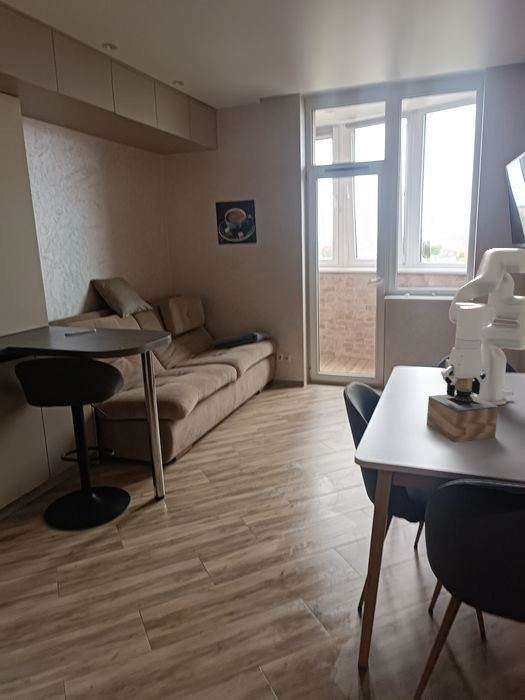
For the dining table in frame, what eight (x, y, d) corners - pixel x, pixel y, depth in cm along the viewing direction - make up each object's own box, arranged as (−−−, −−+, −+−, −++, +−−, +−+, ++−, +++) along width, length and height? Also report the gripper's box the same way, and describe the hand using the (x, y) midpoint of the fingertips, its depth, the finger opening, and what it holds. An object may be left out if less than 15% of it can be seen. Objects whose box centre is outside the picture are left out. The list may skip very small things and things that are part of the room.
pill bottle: (472, 424, 160) (475, 392, 158) (453, 423, 161) (455, 391, 159) (468, 418, 166) (471, 387, 164) (450, 417, 167) (452, 386, 165)
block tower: (443, 375, 238) (453, 390, 210) (445, 358, 236) (454, 371, 208) (460, 376, 236) (473, 391, 208) (462, 359, 235) (474, 372, 207)
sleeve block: (464, 420, 173) (467, 392, 171) (495, 437, 159) (498, 406, 157) (426, 425, 170) (428, 396, 167) (454, 442, 155) (456, 410, 153)
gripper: (482, 340, 164) (477, 389, 167) (437, 343, 159) (433, 393, 163) (498, 344, 156) (492, 395, 160) (451, 347, 152) (447, 400, 156)
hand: (462, 394), depth 162 cm, fingers open, 9 cm apart
